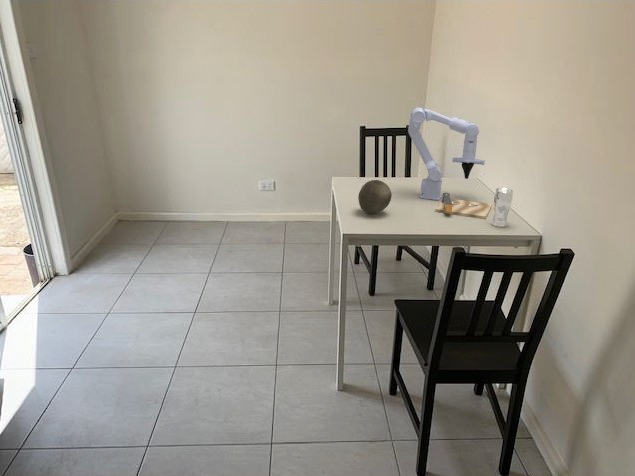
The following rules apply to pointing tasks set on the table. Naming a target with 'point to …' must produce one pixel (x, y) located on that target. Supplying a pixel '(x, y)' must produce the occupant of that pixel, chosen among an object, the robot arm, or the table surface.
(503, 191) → the beer glass
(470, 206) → the label board
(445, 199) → the swing bar
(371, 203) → the grey ball
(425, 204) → the table surface
